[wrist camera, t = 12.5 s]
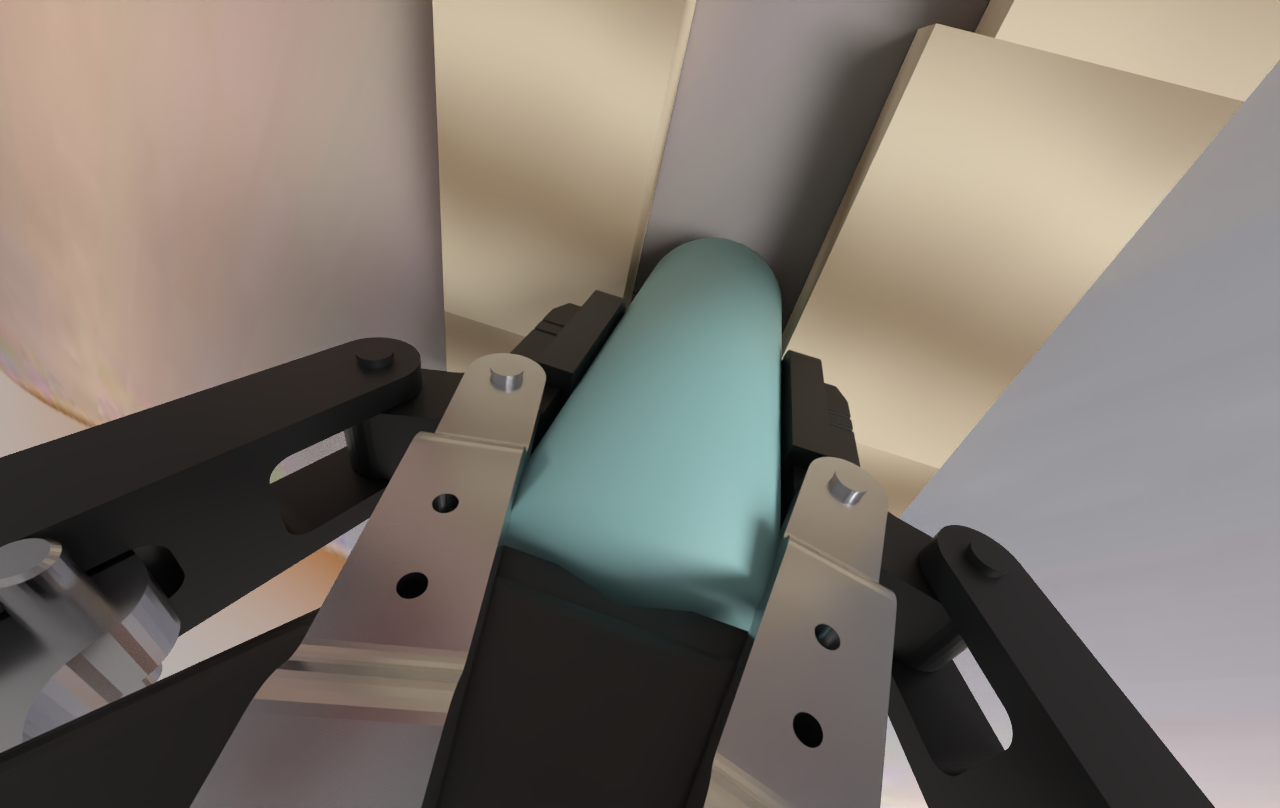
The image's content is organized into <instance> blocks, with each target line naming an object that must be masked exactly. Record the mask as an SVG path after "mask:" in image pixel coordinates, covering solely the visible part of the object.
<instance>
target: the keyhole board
mask: <svg viewBox="0 0 1280 808" xmlns="http://www.w3.org/2000/svg"><path fill="white" fill-rule="evenodd" d="M696 1H697V0H432V3H433V29H434V55H435V81H436V106H437V132H438V158H439V184H440V210H441V236H442V261H443V287H444V313H445V339H446V365H447V372H458V373H465V372H466V370H467V368H468V366H469V365H470V364H471V363H472V362H473V361H474V360H476V359H478V358H480V357H482V356H485V355H489V354H495V353H510V352H511V351H512V350H513V349H514V348H515V347H516V346H517V345H518V344H519V343H520V342H521V341H522V340H523V339H524V338H525V337H526V336H527V335H528V334H529V333H530V332H531V331H532V330H534V329H535V327H536V326H537V325H538V323H539V322H540V321H543V318H544V317H545V316H546V315H547V314H548V313H549V312H550V311H551V310H552V309H554V308H557V307H559V306H562V305H565V304H568V303H572V304H575V305H578V306H582V305H583V304H584V303H585V302H586V301H587V299H588V298H589V297H590V296H591V295H592V294H593V292H594V291H595V290H599V291H602V292H605V293H608V294H612V295H615V296H618V297H621V298H625V299H626V310H627V309H628V307H629V306H630V304H631V299H632V295H633V290H634V285H635V281H636V276H637V272H638V267H639V262H640V258H641V253H642V249H643V244H644V240H645V235H646V230H647V226H648V221H649V217H650V212H651V207H652V203H653V198H654V194H655V189H656V184H657V180H658V175H659V171H660V166H661V161H662V157H663V152H664V148H665V143H666V138H667V134H668V129H669V125H670V120H671V115H672V111H673V106H674V102H675V97H676V92H677V88H678V83H679V79H680V74H681V69H682V65H683V60H684V56H685V51H686V47H687V42H688V37H689V33H690V28H691V24H692V19H693V14H694V10H695V5H696ZM1279 60H1280V0H991V1H990V3H989V5H988V7H987V9H986V11H985V13H984V15H983V17H982V19H981V21H980V23H979V25H978V26H977V28H976V30H975V32H974V33H973V32H969V31H965V30H961V29H957V28H953V27H949V26H945V25H941V24H937V23H935V24H932V25H929V26H926V27H923V28H920V29H918V31H917V33H916V35H915V37H914V40H913V42H912V44H911V46H910V48H909V51H908V53H907V55H906V57H905V60H904V62H903V64H902V66H901V69H900V71H899V73H898V75H897V78H896V80H895V82H894V84H893V87H892V89H891V91H890V93H889V96H888V98H887V100H886V102H885V105H884V107H883V109H882V111H881V114H880V116H879V118H878V120H877V123H876V125H875V127H874V129H873V132H872V134H871V136H870V138H869V141H868V143H867V145H866V147H865V150H864V152H863V154H862V156H861V159H860V161H859V163H858V165H857V168H856V170H855V172H854V174H853V177H852V179H851V181H850V183H849V186H848V188H847V190H846V192H845V195H844V197H843V199H842V201H841V204H840V206H839V208H838V210H837V213H836V215H835V217H834V219H833V222H832V224H831V226H830V228H829V230H828V233H827V235H826V237H825V239H824V242H823V244H822V246H821V248H820V251H819V253H818V255H817V257H816V260H815V262H814V264H813V266H812V269H811V271H810V273H809V275H808V278H807V280H806V282H805V284H804V287H803V289H802V291H801V293H800V296H799V298H798V300H797V302H796V305H795V307H794V309H793V311H792V314H791V316H790V318H789V320H788V323H787V325H786V327H785V329H784V332H783V334H782V359H783V357H784V355H785V354H786V352H787V351H788V350H792V351H795V352H798V353H802V354H805V355H808V356H811V357H815V358H818V359H821V362H822V370H823V377H824V383H827V384H830V385H833V386H836V387H837V388H838V389H839V391H840V392H841V393H842V395H843V396H844V397H845V399H846V400H847V402H848V405H849V410H850V415H851V417H850V419H851V421H852V426H853V430H852V432H854V436H855V441H856V446H857V451H858V456H859V462H860V467H861V468H862V469H864V470H865V471H867V472H868V473H869V474H870V475H872V476H873V477H874V478H875V479H876V480H877V481H878V483H879V484H880V485H881V486H882V488H883V489H884V491H885V493H886V495H887V498H888V511H889V512H890V513H891V514H893V515H894V516H896V517H897V518H899V517H900V516H901V514H902V513H903V512H904V511H905V510H906V508H907V507H908V506H909V505H910V504H911V502H912V501H913V500H914V499H915V498H916V496H917V495H918V494H919V493H920V492H921V490H922V489H923V488H924V487H925V486H926V484H927V483H928V482H929V481H930V480H931V478H932V477H933V476H934V475H935V474H936V472H937V471H938V470H939V469H940V468H941V466H942V465H943V464H944V463H945V462H946V460H947V459H948V458H949V457H950V455H951V454H952V453H953V452H954V451H955V449H956V448H957V447H958V446H959V445H960V443H961V442H962V441H963V440H964V439H965V437H966V436H967V435H968V434H969V433H970V431H971V430H972V429H973V428H974V427H975V425H976V424H977V423H978V422H979V421H980V419H981V418H982V417H983V416H984V415H985V413H986V412H987V411H988V410H989V409H990V407H991V406H992V405H993V404H994V403H995V401H996V400H997V399H998V398H999V397H1000V395H1001V394H1002V393H1003V392H1004V391H1005V389H1006V388H1007V387H1008V386H1009V385H1010V383H1011V382H1012V381H1013V380H1014V378H1015V377H1016V376H1017V375H1018V374H1019V372H1020V371H1021V370H1022V369H1023V368H1024V366H1025V365H1026V364H1027V363H1028V362H1029V360H1030V359H1031V358H1032V357H1033V356H1034V354H1035V353H1036V352H1037V351H1038V350H1039V348H1040V347H1041V346H1042V345H1043V344H1044V342H1045V341H1046V340H1047V339H1048V338H1049V336H1050V335H1051V334H1052V333H1053V332H1054V330H1055V329H1056V328H1057V327H1058V326H1059V324H1060V323H1061V322H1062V321H1063V320H1064V318H1065V317H1066V316H1067V315H1068V314H1069V312H1070V311H1071V310H1072V309H1073V308H1074V306H1075V305H1076V304H1077V303H1078V301H1079V300H1080V299H1081V298H1082V297H1083V295H1084V294H1085V293H1086V292H1087V291H1088V289H1089V288H1090V287H1091V286H1092V285H1093V283H1094V282H1095V281H1096V280H1097V279H1098V277H1099V276H1100V275H1101V274H1102V273H1103V271H1104V270H1105V269H1106V268H1107V267H1108V265H1109V264H1110V263H1111V262H1112V261H1113V259H1114V258H1115V257H1116V256H1117V255H1118V253H1119V252H1120V251H1121V250H1122V249H1123V247H1124V246H1125V245H1126V244H1127V243H1128V241H1129V240H1130V239H1131V238H1132V237H1133V235H1134V234H1135V233H1136V232H1137V231H1138V229H1139V228H1140V227H1141V226H1142V224H1143V223H1144V222H1145V221H1146V220H1147V218H1148V217H1149V216H1150V215H1151V214H1152V212H1153V211H1154V210H1155V209H1156V208H1157V206H1158V205H1159V204H1160V203H1161V202H1162V200H1163V199H1164V198H1165V197H1166V196H1167V194H1168V193H1169V192H1170V191H1171V190H1172V188H1173V187H1174V186H1175V185H1176V184H1177V182H1178V181H1179V180H1180V179H1181V178H1182V176H1183V175H1184V174H1185V173H1186V172H1187V170H1188V169H1189V168H1190V167H1191V166H1192V164H1193V163H1194V162H1195V161H1196V160H1197V158H1198V157H1199V156H1200V155H1201V153H1202V152H1203V151H1204V150H1205V149H1206V147H1207V146H1208V145H1209V144H1210V143H1211V141H1212V140H1213V139H1214V138H1215V137H1216V135H1217V134H1218V133H1219V132H1220V131H1221V129H1222V128H1223V127H1224V126H1225V125H1226V123H1227V122H1228V121H1229V120H1230V119H1231V117H1232V116H1233V115H1234V114H1235V113H1236V111H1237V110H1238V109H1239V108H1240V107H1241V105H1242V104H1243V103H1244V102H1245V101H1246V99H1247V98H1248V97H1249V96H1250V95H1251V93H1252V92H1253V91H1254V90H1255V89H1256V87H1257V86H1258V85H1259V84H1260V83H1261V81H1262V80H1263V79H1264V78H1265V76H1266V75H1267V74H1268V73H1269V72H1270V70H1271V69H1272V68H1273V67H1274V66H1275V64H1276V63H1277V62H1278V61H1279ZM626 310H625V312H626Z"/></svg>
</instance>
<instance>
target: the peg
mask: <svg viewBox="0 0 1280 808" xmlns="http://www.w3.org/2000/svg"><path fill="white" fill-rule="evenodd" d="M781 361H782V298H781V291H780V287H779V284H778V281H777V279H776V276H775V275H774V273H773V271H772V269H771V268H770V267H769V265H768V264H767V263H766V261H765V260H764V259H762V258H761V257H760V256H759V255H758V254H757V253H756V252H754V251H753V250H751V249H750V248H748V247H746V246H744V245H742V244H740V243H737V242H735V241H731V240H727V239H721V238H702V239H697V240H693V241H690V242H686V243H684V244H682V245H680V246H678V247H676V248H674V249H673V250H671V251H670V252H669V253H667V254H666V255H665V256H664V257H663V258H662V259H661V260H660V261H659V262H658V264H657V265H656V266H655V268H654V269H653V271H652V272H651V274H650V275H649V277H648V278H647V280H646V282H645V283H644V285H643V286H642V288H641V289H640V291H639V292H638V294H637V295H636V297H635V298H634V300H633V301H632V303H631V304H630V306H629V307H628V309H627V310H626V312H625V313H624V315H623V316H622V318H621V320H620V321H619V323H618V324H617V326H616V327H615V329H614V330H613V332H612V333H611V335H610V336H609V338H608V339H607V341H606V342H605V344H604V345H603V347H602V348H601V350H600V351H599V353H598V355H597V356H596V358H595V359H594V361H593V362H592V364H591V365H590V367H589V368H588V370H587V371H586V373H585V374H584V376H583V377H582V379H581V380H580V382H579V383H578V385H577V386H576V388H575V389H574V391H573V393H572V394H571V396H570V397H569V399H568V400H567V402H566V403H565V405H564V406H563V408H562V409H561V411H560V412H559V414H558V415H557V417H556V418H555V420H554V421H553V423H552V424H551V426H550V428H549V429H548V431H547V432H546V434H545V435H544V437H543V438H542V440H541V441H540V443H539V444H538V446H537V447H536V449H535V450H534V452H533V453H532V455H531V456H530V458H529V461H528V464H527V466H526V468H525V471H524V474H523V477H522V480H521V483H520V486H519V489H518V492H517V495H516V498H515V502H514V505H513V508H512V511H511V524H510V526H509V528H508V531H507V534H506V538H505V541H504V545H505V546H508V547H511V548H514V549H517V550H519V551H522V552H525V553H528V554H531V555H534V556H536V557H539V558H542V559H545V560H548V561H551V562H553V563H556V564H558V565H559V566H561V567H562V568H564V569H565V570H567V571H568V572H570V573H571V574H573V575H574V576H576V577H577V578H579V579H581V580H582V581H584V582H585V583H587V584H588V585H590V586H591V587H593V588H594V589H596V590H597V591H599V592H600V593H602V594H603V595H605V596H606V597H608V598H609V599H611V600H613V601H614V602H616V603H619V604H623V605H630V606H640V607H650V608H660V609H671V610H681V611H691V612H695V613H698V614H701V615H703V616H706V617H709V618H712V619H715V620H718V621H720V622H723V623H726V624H729V625H732V626H735V627H737V628H740V629H743V630H746V631H749V630H750V627H751V624H752V621H753V618H754V614H755V608H756V607H757V605H758V604H759V602H760V601H761V599H762V598H763V596H764V594H765V591H766V587H767V584H768V580H769V576H770V573H771V569H772V566H773V562H774V558H775V554H776V550H777V546H778V541H779V535H780V517H781Z"/></svg>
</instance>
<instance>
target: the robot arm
mask: <svg viewBox="0 0 1280 808" xmlns="http://www.w3.org/2000/svg"><path fill="white" fill-rule="evenodd" d="M625 310H626V299H625V298H621V297H618V296H615V295H612V294H608V293H605V292H602V291H599V290H595V291H594V292H593V294H592V295H591V296H590V297H589V298H588V299H587V301H586V302H585V303H584V304H583V305H582V306H578V305H575V304H572V303H568V304H565V305H562V306H559V307H557V308H554V309H552V310H551V311H550V312H549V313H548V314H547V315H546V316H545V317H544V318H543V321H540V322H539V323H538V325H537V326H536V327H535V329H534V330H532V331H531V332H530V333H529V334H528V335H527V336H526V337H525V338H524V339H523V340H522V341H521V342H520V343H519V344H518V345H517V346H516V347H515V348H514V349H513V350H512V351H511V352H510V353H495V354H489V355H485V356H482V357H480V358H478V359H476V360H474V361H473V362H472V363H471V364H470V365H469V366H468V368H467V370H466V372H465V373H458V372H447V371H438V370H428V369H421V361H420V354H419V352H418V351H417V350H416V349H415V348H414V347H413V346H411V345H410V344H408V343H406V342H403V341H400V340H396V339H391V338H364V339H359V340H355V341H351V342H348V343H345V344H342V345H339V346H336V347H333V348H330V349H327V350H324V351H321V352H318V353H315V354H312V355H309V356H306V357H303V358H300V359H297V360H294V361H291V362H288V363H285V364H282V365H279V366H276V367H273V368H270V369H267V370H264V371H261V372H258V373H255V374H252V375H249V376H246V377H243V378H240V379H237V380H233V381H230V382H227V383H224V384H221V385H218V386H215V387H212V388H209V389H206V390H203V391H200V392H197V393H194V394H191V395H188V396H185V397H182V398H179V399H176V400H173V401H170V402H167V403H164V404H161V405H158V406H155V407H152V408H149V409H146V410H143V411H140V412H137V413H134V414H131V415H128V416H125V417H122V418H119V419H116V420H113V421H110V422H107V423H104V424H101V425H98V426H95V427H92V428H89V429H86V430H83V431H80V432H77V433H74V434H71V435H68V436H65V437H62V438H59V439H56V440H53V441H50V442H47V443H44V444H40V445H38V446H34V447H31V448H29V449H25V450H23V451H19V452H16V453H13V454H10V455H8V456H4V457H2V458H0V808H880V803H881V791H882V779H883V767H884V755H885V743H886V730H887V718H888V716H889V718H890V721H891V723H892V725H893V727H894V730H895V732H896V734H897V737H898V739H899V741H900V744H901V746H902V748H903V750H904V753H905V755H906V757H907V760H908V762H909V764H910V766H911V769H912V771H913V773H914V776H915V778H916V780H917V783H918V785H919V787H920V789H921V792H922V794H923V796H924V799H925V801H926V803H927V805H928V808H1215V807H1214V806H1213V805H1212V803H1211V802H1210V801H1209V800H1208V798H1207V797H1206V796H1205V795H1204V793H1203V792H1202V791H1201V790H1200V788H1199V787H1198V786H1197V785H1196V783H1195V782H1194V781H1193V780H1192V778H1191V777H1190V776H1189V775H1188V773H1187V772H1186V771H1185V770H1184V768H1183V767H1182V766H1181V765H1180V763H1179V762H1178V761H1177V760H1176V758H1175V757H1174V756H1173V755H1172V753H1171V752H1170V751H1169V750H1168V748H1167V747H1166V746H1165V745H1164V743H1163V742H1162V741H1161V740H1160V738H1159V737H1158V736H1157V734H1156V733H1155V732H1154V731H1153V729H1152V728H1151V727H1150V726H1149V724H1148V723H1147V722H1146V721H1145V719H1144V718H1143V717H1142V716H1141V714H1140V713H1139V712H1138V711H1137V709H1136V708H1135V707H1134V706H1133V704H1132V703H1131V702H1130V701H1129V699H1128V698H1127V697H1126V696H1125V694H1124V693H1123V692H1122V691H1121V689H1120V688H1119V687H1118V686H1117V684H1116V683H1115V682H1114V681H1113V679H1112V678H1111V677H1110V676H1109V674H1108V673H1107V672H1106V671H1105V669H1104V668H1103V667H1102V666H1101V664H1100V663H1099V662H1098V661H1097V659H1096V658H1095V657H1094V656H1093V654H1092V653H1091V652H1090V651H1089V649H1088V648H1087V647H1086V646H1085V644H1084V643H1083V642H1082V641H1081V639H1080V638H1079V637H1078V636H1077V634H1076V633H1075V632H1074V631H1073V629H1072V628H1071V627H1070V626H1069V624H1068V623H1067V622H1066V621H1065V619H1064V618H1063V617H1062V616H1061V614H1060V613H1059V612H1058V611H1057V609H1056V608H1055V607H1054V606H1053V604H1052V603H1051V602H1050V601H1049V599H1048V598H1047V597H1046V596H1045V594H1044V593H1043V592H1042V591H1041V589H1040V588H1039V587H1038V586H1037V584H1036V583H1035V582H1034V581H1033V579H1032V578H1031V577H1030V576H1029V574H1028V573H1027V572H1026V571H1025V569H1024V568H1023V567H1022V566H1021V564H1020V563H1019V562H1018V561H1017V560H1016V559H1015V557H1014V556H1013V555H1012V554H1011V553H1010V552H1008V551H1007V550H1006V549H1005V548H1004V547H1003V546H1001V545H1000V544H999V543H997V542H996V541H994V540H993V539H991V538H990V537H988V536H986V535H985V534H983V533H981V532H979V531H976V530H974V529H971V528H968V527H965V526H959V525H950V526H946V527H944V528H942V529H941V530H940V531H939V532H938V533H937V534H936V535H935V537H934V538H932V537H930V536H929V535H927V534H925V533H923V532H922V531H920V530H918V529H916V528H914V527H913V526H911V525H909V524H907V523H906V522H904V521H902V520H900V519H899V518H897V517H896V516H894V515H893V514H891V513H890V512H889V511H888V498H887V495H886V493H885V491H884V489H883V488H882V486H881V485H880V484H879V483H878V481H877V480H876V479H875V478H874V477H873V476H872V475H870V474H869V473H868V472H867V471H865V470H864V469H862V468H861V467H860V462H859V456H858V451H857V446H856V441H855V436H854V432H852V430H853V426H852V421H851V419H850V417H851V415H850V410H849V405H848V402H847V400H846V399H845V397H844V396H843V395H842V393H841V392H840V391H839V389H838V388H837V387H836V386H833V385H830V384H827V383H824V377H823V370H822V362H821V359H818V358H815V357H811V356H808V355H805V354H802V353H798V352H795V351H792V350H788V351H787V352H786V354H785V355H784V357H783V359H782V361H781V517H780V535H779V541H778V546H777V550H776V554H775V558H774V562H773V566H772V569H771V573H770V576H769V580H768V584H767V587H766V591H765V594H764V596H763V598H762V599H761V601H760V602H759V604H758V605H757V607H756V608H755V614H754V618H753V621H752V624H751V627H750V630H749V631H746V630H743V629H740V628H737V627H735V626H732V625H729V624H726V623H723V622H720V621H718V620H715V619H712V618H709V617H706V616H703V615H701V614H698V613H695V612H691V611H681V610H671V609H660V608H650V607H640V606H630V605H623V604H619V603H616V602H614V601H613V600H611V599H609V598H608V597H606V596H605V595H603V594H602V593H600V592H599V591H597V590H596V589H594V588H593V587H591V586H590V585H588V584H587V583H585V582H584V581H582V580H581V579H579V578H577V577H576V576H574V575H573V574H571V573H570V572H568V571H567V570H565V569H564V568H562V567H561V566H559V565H558V564H556V563H553V562H551V561H548V560H545V559H542V558H539V557H536V556H534V555H531V554H528V553H525V552H522V551H519V550H517V549H514V548H511V547H508V546H505V545H504V541H505V538H506V534H507V531H508V528H509V526H510V524H511V511H512V508H513V505H514V502H515V498H516V495H517V492H518V489H519V486H520V483H521V480H522V477H523V474H524V471H525V468H526V466H527V464H528V461H529V458H530V456H531V455H532V453H533V452H534V450H535V449H536V447H537V446H538V444H539V443H540V441H541V440H542V438H543V437H544V435H545V434H546V432H547V431H548V429H549V428H550V426H551V424H552V423H553V421H554V420H555V418H556V417H557V415H558V414H559V412H560V411H561V409H562V408H563V406H564V405H565V403H566V402H567V400H568V399H569V397H570V396H571V394H572V393H573V391H574V389H575V388H576V386H577V385H578V383H579V382H580V380H581V379H582V377H583V376H584V374H585V373H586V371H587V370H588V368H589V367H590V365H591V364H592V362H593V361H594V359H595V358H596V356H597V355H598V353H599V351H600V350H601V348H602V347H603V345H604V344H605V342H606V341H607V339H608V338H609V336H610V335H611V333H612V332H613V330H614V329H615V327H616V326H617V324H618V323H619V321H620V320H621V318H622V316H623V315H624V313H625ZM342 431H344V433H345V438H346V443H347V446H346V447H344V448H342V449H340V450H338V451H336V452H334V453H332V454H330V455H328V456H326V457H324V458H322V459H320V460H318V461H316V462H314V463H312V464H310V465H308V466H306V467H304V468H302V469H300V470H298V471H296V472H294V473H292V474H290V475H287V476H285V477H283V478H281V479H279V480H277V481H275V482H273V483H271V484H270V483H269V482H270V476H271V473H272V471H273V470H274V468H275V467H276V466H277V465H278V464H279V463H280V462H281V461H282V460H284V459H285V458H287V457H288V456H290V455H292V454H294V453H296V452H299V451H301V450H303V449H305V448H307V447H309V446H312V445H314V444H316V443H318V442H320V441H322V440H324V439H327V438H329V437H331V436H333V435H335V434H337V433H339V432H342ZM368 518H370V519H369V520H368V522H367V524H366V526H365V528H364V529H363V531H362V533H361V535H360V537H359V539H358V540H357V542H356V544H355V546H354V548H353V550H352V551H351V553H350V555H349V557H348V559H347V561H346V562H345V564H344V566H343V568H342V570H341V572H340V573H339V575H338V577H337V579H336V581H335V583H334V585H333V586H332V588H331V590H330V592H329V594H328V595H327V597H326V599H325V601H324V603H323V604H322V606H321V607H320V608H318V609H316V610H314V611H312V612H310V613H307V614H305V615H303V616H301V617H298V618H296V619H294V620H292V621H290V622H288V623H285V624H283V625H281V626H279V627H277V628H274V629H272V630H270V631H268V632H266V633H263V634H261V635H259V636H257V637H255V638H252V639H250V640H248V641H246V642H243V643H241V644H239V645H237V646H235V647H232V648H230V649H228V650H226V651H224V652H221V653H219V654H217V655H215V656H213V657H210V658H208V659H206V660H204V661H202V662H199V663H197V664H195V665H193V666H191V667H188V668H186V669H184V670H182V671H180V672H177V673H175V674H173V675H171V676H169V677H167V678H164V679H162V680H160V681H158V682H156V681H157V680H158V678H159V677H160V675H161V672H162V663H161V662H162V661H163V660H164V659H165V658H166V657H167V655H168V654H169V652H170V651H171V649H172V648H173V646H174V644H175V642H176V640H177V638H178V637H179V636H180V635H182V634H184V633H185V632H187V631H189V630H190V629H192V628H193V627H195V626H197V625H198V624H200V623H201V622H203V621H205V620H206V619H208V618H209V617H211V616H212V615H214V614H216V613H217V612H219V611H221V610H222V609H224V608H225V607H227V606H229V605H230V604H232V603H233V602H235V601H237V600H238V599H240V598H241V597H243V596H245V595H246V594H248V593H249V592H251V591H253V590H254V589H256V588H258V587H259V586H261V585H262V584H264V583H266V582H267V581H269V580H270V579H272V578H273V577H275V576H277V575H278V574H280V573H282V572H283V571H285V570H286V569H288V568H290V567H291V566H293V565H294V564H296V563H298V562H299V561H301V560H302V559H304V558H306V557H307V556H309V555H310V554H312V553H314V552H315V551H317V550H318V549H320V548H322V547H323V546H325V545H326V544H328V543H330V542H331V541H333V540H334V539H336V538H338V537H339V536H341V535H342V534H344V533H346V532H347V531H349V530H351V529H352V528H354V527H355V526H357V525H359V524H360V523H362V522H363V521H365V520H367V519H368ZM967 647H968V648H969V650H970V652H971V653H972V655H973V656H974V658H975V660H976V661H977V663H978V665H979V666H980V668H981V670H982V671H983V673H984V675H985V676H986V678H987V679H988V681H989V683H990V684H991V686H992V688H993V689H994V691H995V693H996V694H997V696H998V698H999V699H1000V701H1001V702H1002V704H1003V706H1004V707H1005V709H1006V711H1007V713H1008V715H1009V718H1010V721H1011V724H1012V730H1013V738H1012V742H1011V745H1010V746H1009V748H1008V749H1007V750H1004V749H1003V747H1002V745H1001V743H1000V742H999V740H998V738H997V736H996V735H995V733H994V731H993V729H992V728H991V726H990V724H989V722H988V721H987V719H986V717H985V715H984V714H983V712H982V710H981V708H980V707H979V705H978V703H977V701H976V700H975V698H974V696H973V694H972V693H971V691H970V689H969V688H968V686H967V684H966V682H965V681H964V679H963V677H962V675H961V674H960V672H959V670H958V668H957V667H956V665H955V663H954V661H953V660H952V659H953V658H955V657H956V656H957V655H958V654H960V653H961V652H962V651H964V650H965V649H966V648H967Z"/></svg>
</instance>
